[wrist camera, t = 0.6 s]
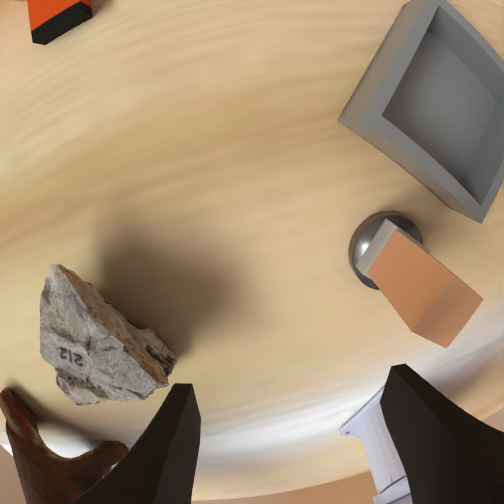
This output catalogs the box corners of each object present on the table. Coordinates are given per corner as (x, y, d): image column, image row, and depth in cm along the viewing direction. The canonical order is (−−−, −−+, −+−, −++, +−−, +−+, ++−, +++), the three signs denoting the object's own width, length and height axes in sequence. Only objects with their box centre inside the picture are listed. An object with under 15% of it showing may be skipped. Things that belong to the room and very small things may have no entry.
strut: (421, 244, 18) (487, 296, 11) (392, 286, 19) (446, 352, 12) (385, 218, 17) (453, 268, 10) (355, 265, 18) (405, 333, 12)
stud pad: (427, 234, 18) (435, 239, 18) (388, 293, 20) (393, 300, 19) (376, 196, 17) (383, 200, 17) (333, 263, 19) (338, 270, 18)
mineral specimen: (118, 306, 26) (199, 269, 21) (133, 395, 23) (224, 385, 19) (19, 295, 17) (74, 242, 13) (31, 406, 15) (94, 414, 10)
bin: (499, 100, 15) (532, 101, 11) (449, 207, 18) (481, 223, 14) (403, 5, 13) (431, -12, 9) (337, 120, 16) (360, 119, 12)
